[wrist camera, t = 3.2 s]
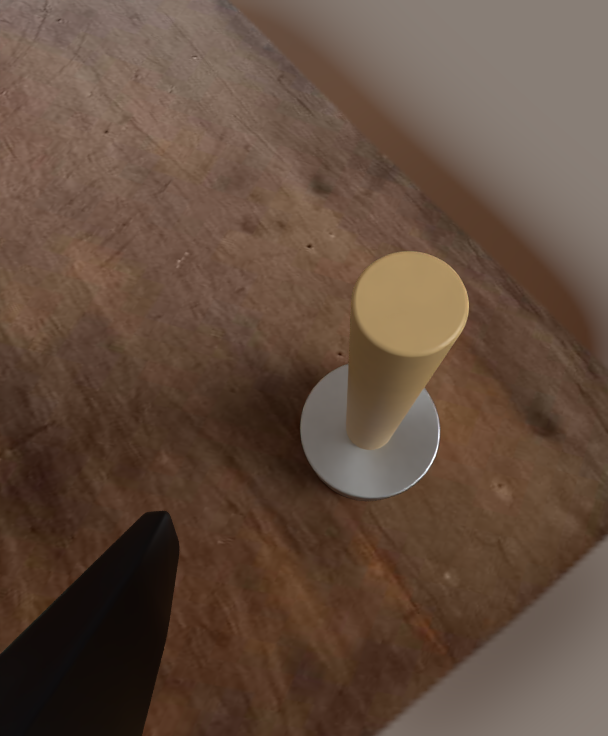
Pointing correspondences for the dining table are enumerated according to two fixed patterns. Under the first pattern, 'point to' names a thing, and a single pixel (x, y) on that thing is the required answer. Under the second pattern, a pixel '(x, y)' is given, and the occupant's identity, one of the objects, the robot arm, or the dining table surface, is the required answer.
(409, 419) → the peg on silver base
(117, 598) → the robot arm
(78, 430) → the dining table surface
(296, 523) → the dining table surface
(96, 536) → the dining table surface
